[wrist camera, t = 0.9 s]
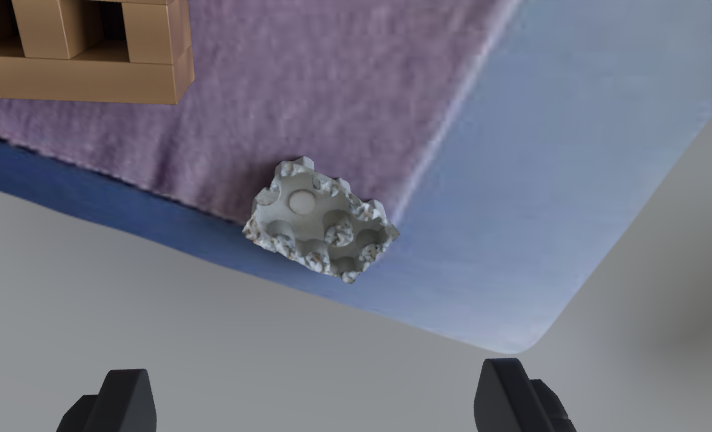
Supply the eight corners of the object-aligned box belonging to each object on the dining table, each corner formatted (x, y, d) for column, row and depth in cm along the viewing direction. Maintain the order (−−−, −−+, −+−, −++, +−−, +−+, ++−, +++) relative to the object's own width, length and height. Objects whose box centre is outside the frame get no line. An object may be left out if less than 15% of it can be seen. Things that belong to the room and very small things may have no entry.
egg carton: (239, 208, 41) (233, 234, 38) (295, 138, 39) (294, 159, 35) (342, 272, 45) (346, 301, 42) (399, 212, 43) (408, 238, 39)
